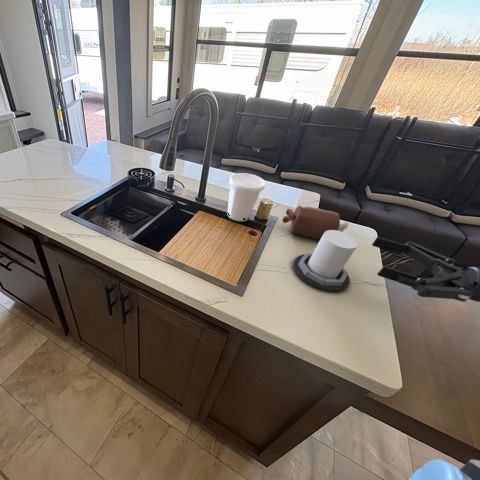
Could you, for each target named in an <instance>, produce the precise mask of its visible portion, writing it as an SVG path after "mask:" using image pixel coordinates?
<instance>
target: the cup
mask: <svg viewBox="0 0 480 480" xmlns="http://www.w3.org/2000/svg"><path fill="white" fill-rule="evenodd" d="M229 177H230V178H229V181H228V184H229V194H228V203H227V212H228V213H229V215H230V216H229V215H228V213H226V215H227V217H228V219H229V220H232V221H233V222H237V223H240V222H241V223H244V222H247V221H248V220H249V219H245V220H243V218H248V217H249V218H250V216H251V214H252V211H253V210H254V207H255V204H256V202H257V200H258V199H259V196H260V193H261V192H262V191H263V190H264V189H265V187H266V184H267V183H266V181H265V180H264V178H262V177H260V176H258V175H255V174H251V173H246V172H244V173H243V172H239V173H234V174H232V175H230V176H229Z"/></svg>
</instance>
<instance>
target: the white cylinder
mask: <svg viewBox="0 0 480 480" xmlns="http://www.w3.org/2000/svg"><path fill="white" fill-rule="evenodd" d="M358 246H359V241H357V239H356V238H355V237H353V236H352V235H350V234H348V233H347V232H344V231H343V232H341V231H337V230H328V231H325V232H324V234H323V236H322V238H321V239H319V241H318V244H317V245H316V246H315V248H314V251H313V252H312V253H313V254H312V256H311V258H310V260H309V262H308V263H307V267H308V269H309V270H310V272H312V273H314V274H316V275H318V276H320V277H322V278H324V279H336V277H337V276H338V274H339V273H340V271H341V270H342V268H344V267H345V266H346V264H347V262H348V261H349V259H350V258H351V257H352V255H353V254H354V252H355V251H356V250H357V247H358Z"/></svg>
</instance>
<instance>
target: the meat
mask: <svg viewBox="0 0 480 480" xmlns="http://www.w3.org/2000/svg"><path fill="white" fill-rule="evenodd" d="M282 223H283V224H287V223H290V229H291V232H292V233H293V234H297V235H299V236H301V237H305V238H310V239H317V240H321V238H322V236H323V234H324V232H325V231H328V230H337V231H341V232H344V230H346V229H348V226H349V222H347V221H345V220H344V221H342V222H341V216H340V214H339V213H338V212H336V211H331V210H326V209H322V208H319V207H313V206H309V205H298V206H297V207H296V208H295V210H294V211H293V209H292V208H291V207H289V208H287V209H286V211H285V215H284V216H283V218H282Z"/></svg>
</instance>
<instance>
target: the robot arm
mask: <svg viewBox="0 0 480 480" xmlns="http://www.w3.org/2000/svg"><path fill="white" fill-rule="evenodd" d="M371 246H372V247H376V248H378V249H383V250H385V251H389V252H393V253H396V254H399V255H402V254H404V255H405V256H407V257H409V258H410V259H412V260H414V261H416V262H417V263H419V264H420V265H422V266H424V267H426V270H427V271H429V272H430V273H431V274H432V275H433V277H427V278H423V277H422V276H421V277H420V278H419V276H418V275H415V274H413V273H410V272H405V271H403V270H399V269H396V268H393V267H390V266H386V265H382V267H381V269H379V271H378V272H377V276H378V277H380V278H384V279H387V280H391V281H393V282H397V283H399V284H401V285H405V286H406V287H410V288H412V289H413V290H414V291H417V292H416V294H417V295H418V296H419V297H421V298H431V299H445V300H446V299H447V300H455V301H459V302H463V303H464V302H466V301H468V300H470V301H473V302H478V303H479V302H480V267H477V266H468V267H465V268H460V267H458V266H456V265H454V263H455V262H456V260H455V259H454V258H452V257H448V256H445V255H443V254H440V253H438V252H436V251H434V250H431V249H429V248H427V247H424V246H422V245H420V244H418V243H415V242H413V241H411V240H407V241H405V243H401V242H398V241H394V240H391V239H387V238H383V237H380V236H376V238H375V239H374V241H373V242H372V244H371ZM408 480H480V460H478V459H472V458H471V459H470V460H468V461H467V462H466V463H465V464H464V465H463V466H462V467H461V468H460V469H459V467H457V466H455V465H454V464H451V463H448V462H447V461H445V460H442V459H431V460H429V461H427V462H425V463H424V464H423V466H422V467H419V468H417V469H416V470H415V471H414V472H413V474H412V475H411V476H410V477H409V479H408Z"/></svg>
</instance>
